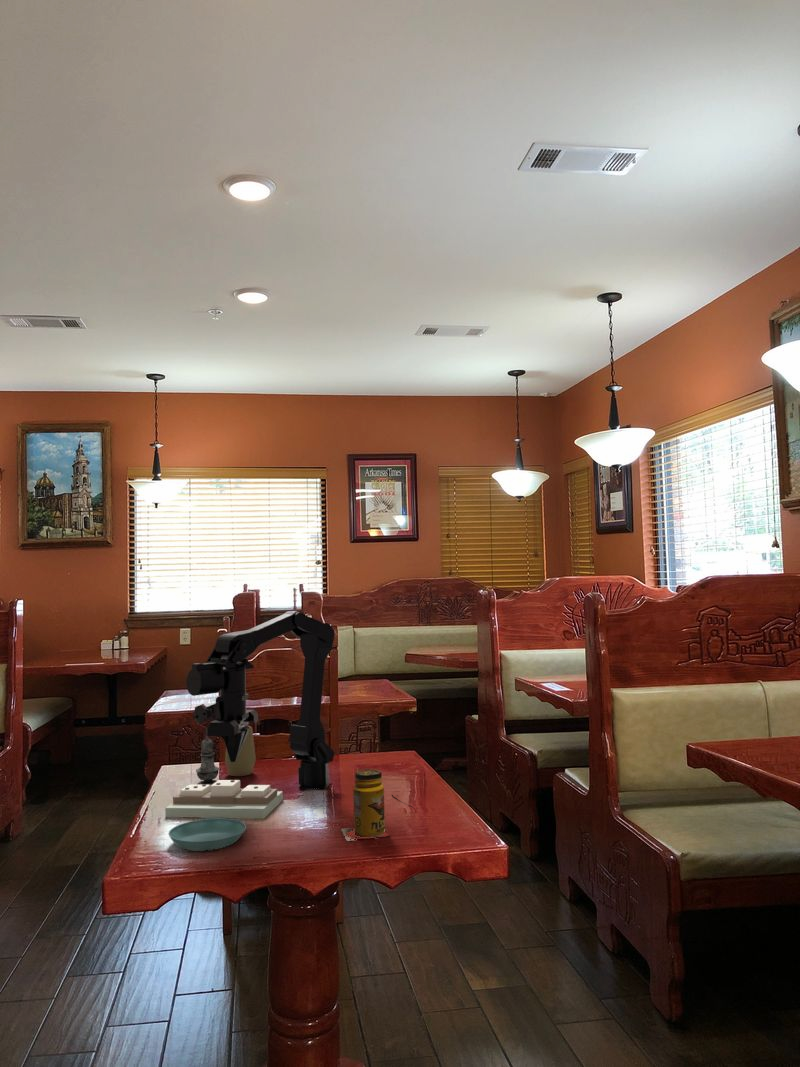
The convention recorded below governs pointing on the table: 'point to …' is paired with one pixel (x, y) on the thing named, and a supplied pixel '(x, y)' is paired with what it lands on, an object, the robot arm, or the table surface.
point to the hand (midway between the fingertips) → (233, 761)
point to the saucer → (207, 833)
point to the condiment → (368, 805)
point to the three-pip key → (195, 790)
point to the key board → (224, 806)
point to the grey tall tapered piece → (207, 764)
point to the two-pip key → (225, 788)
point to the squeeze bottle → (243, 757)
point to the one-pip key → (255, 791)
